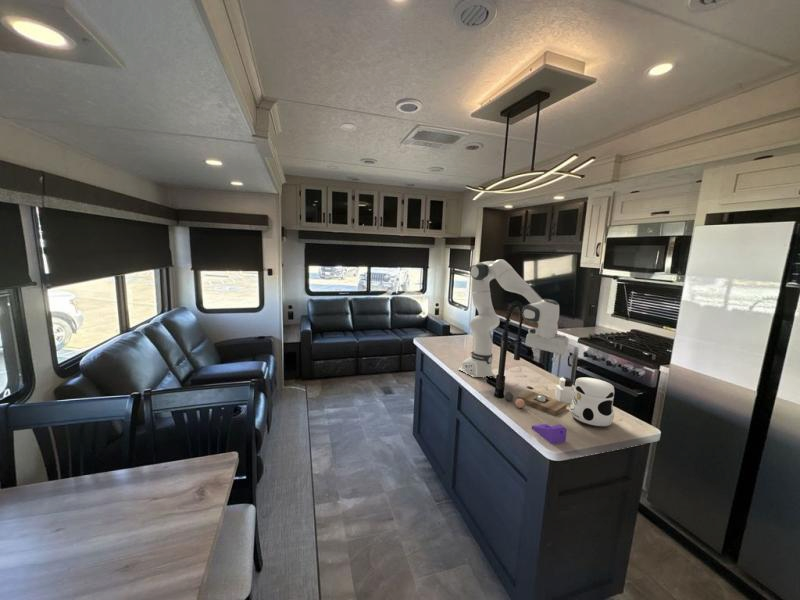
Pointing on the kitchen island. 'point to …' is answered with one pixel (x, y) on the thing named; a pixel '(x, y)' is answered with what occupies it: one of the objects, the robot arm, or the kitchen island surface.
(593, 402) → the doce de leite tub
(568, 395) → the medicine bottle
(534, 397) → the hole plate
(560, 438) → the bracket
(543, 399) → the steel ball
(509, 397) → the rubber ball
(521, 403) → the terracotta ball
